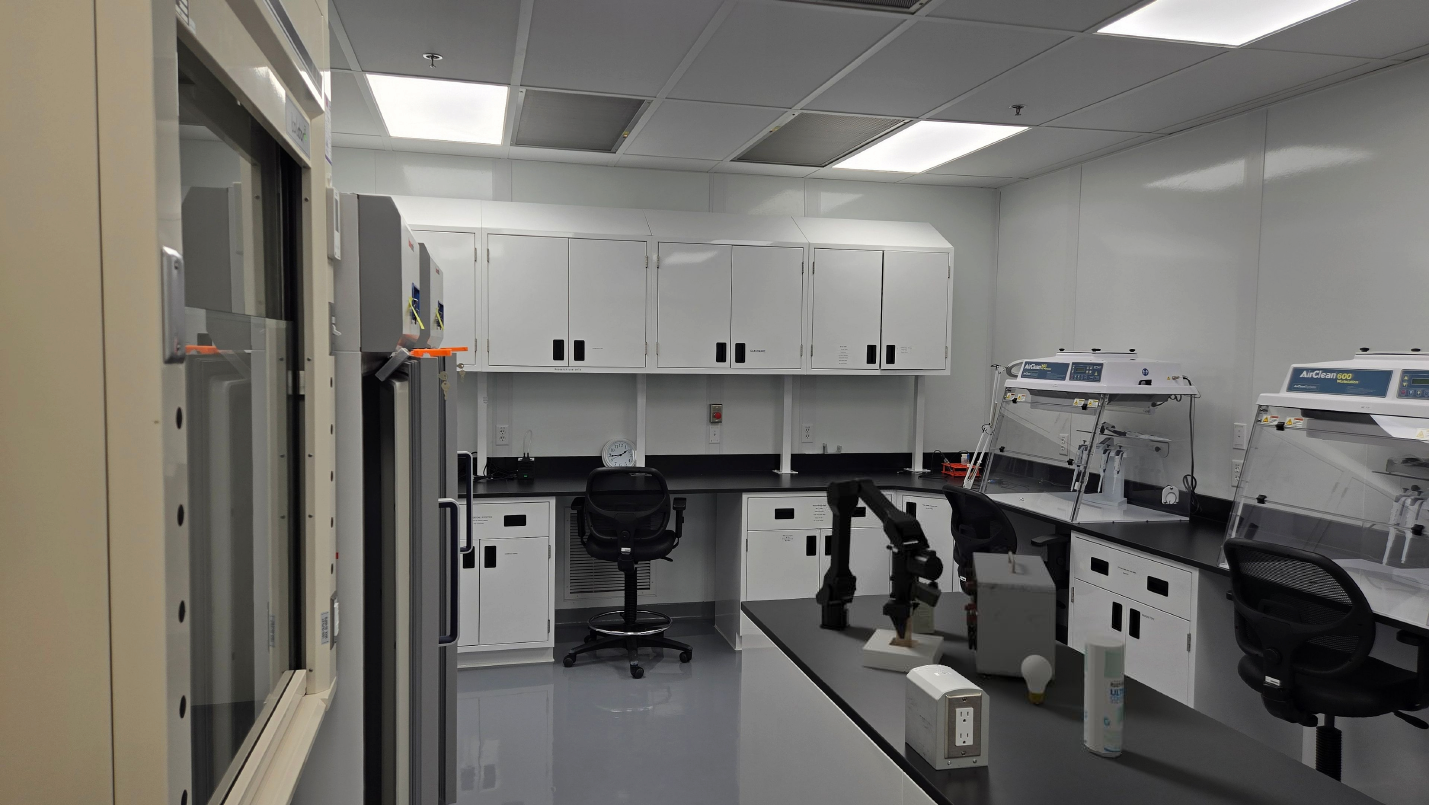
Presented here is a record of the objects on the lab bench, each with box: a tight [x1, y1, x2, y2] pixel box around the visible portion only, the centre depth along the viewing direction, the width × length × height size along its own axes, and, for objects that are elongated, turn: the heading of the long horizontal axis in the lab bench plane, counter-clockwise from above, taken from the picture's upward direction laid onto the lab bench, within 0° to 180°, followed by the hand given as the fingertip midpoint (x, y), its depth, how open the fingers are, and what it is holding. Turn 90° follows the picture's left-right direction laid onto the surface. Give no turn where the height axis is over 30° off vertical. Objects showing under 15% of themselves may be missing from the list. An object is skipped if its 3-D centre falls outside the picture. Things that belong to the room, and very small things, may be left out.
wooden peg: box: [895, 616, 912, 648], centre depth 194 cm, size 4×4×10 cm
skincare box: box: [912, 598, 935, 634], centre depth 215 cm, size 6×4×12 cm
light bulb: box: [1021, 655, 1052, 704], centre depth 168 cm, size 6×6×10 cm
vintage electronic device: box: [964, 550, 1057, 683], centre depth 194 cm, size 32×18×25 cm, turn 164°
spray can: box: [1083, 634, 1126, 753], centre depth 147 cm, size 6×6×20 cm
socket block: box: [861, 628, 944, 673], centre depth 194 cm, size 16×16×4 cm
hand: (903, 636), depth 194 cm, fingers closed on wooden peg, 4 cm apart
